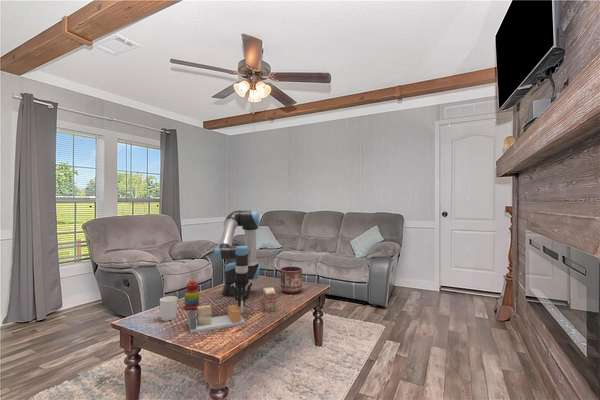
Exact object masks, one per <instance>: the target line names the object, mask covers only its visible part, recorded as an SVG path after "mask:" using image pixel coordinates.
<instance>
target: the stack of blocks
mask: <svg viewBox="0 0 600 400" xmlns="http://www.w3.org/2000/svg"><path fill="white" fill-rule="evenodd" d="M262 293H263V295H262V296H263V307H264V310H265V313H273V312H276V290H275V289H274V287H264V288H262Z"/></svg>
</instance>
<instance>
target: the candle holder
mask: <svg viewBox="0 0 600 400" xmlns="http://www.w3.org/2000/svg"><path fill="white" fill-rule="evenodd" d="M177 306H178V297H177V296H174V295H169V296H168V295H167V296H163V297H161V298H160V299H159V307H160V308H159V309H160V320H161V321H162V320H164V321H163V322H169V320H171V321H174V320H175V319H177ZM173 319H174V320H173Z"/></svg>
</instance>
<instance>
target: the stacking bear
mask: <svg viewBox="0 0 600 400" xmlns="http://www.w3.org/2000/svg"><path fill="white" fill-rule="evenodd" d="M186 288H187V289H186V290H185V293H184V298H183V300H184V309H185V310H186V311H187V310H188V311H195V310H197V307H200V306H202V305H201V304H200V303H199V301H200V292H199V290H198V288H199V283H197V281H195V280H192V279H190V280H189V281H188V282H187V285H186Z"/></svg>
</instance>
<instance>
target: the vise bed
mask: <svg viewBox="0 0 600 400" xmlns="http://www.w3.org/2000/svg"><path fill="white" fill-rule="evenodd" d="M187 319H188V321H187V322H188V323H187V325H188V329H189V332H190V334H194V333H193V332H195V333H201V332H206V331H211V330H213V331H214V330H218V329H223V328H228V327H230V328H231V327H236V326H241V325H246V320H245V319H244V317H243V315H241V321H240V322H234V323H232V322H231V320H230V318H229V317H228V314H224V315H219V316H213V317H212V316H211V324H207V325H201V326H198V323H197V316H196V313H195V310H188V317H187Z"/></svg>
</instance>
